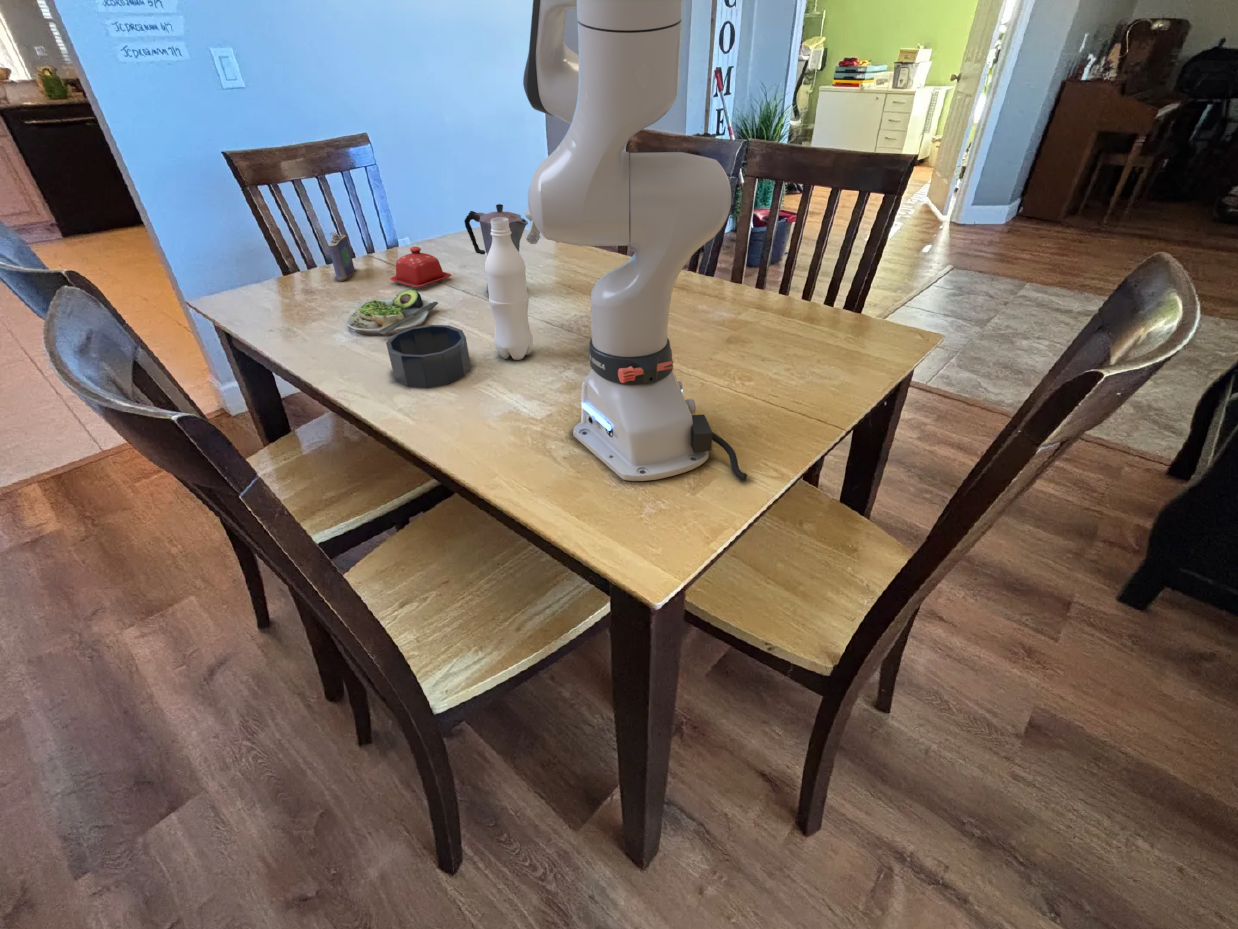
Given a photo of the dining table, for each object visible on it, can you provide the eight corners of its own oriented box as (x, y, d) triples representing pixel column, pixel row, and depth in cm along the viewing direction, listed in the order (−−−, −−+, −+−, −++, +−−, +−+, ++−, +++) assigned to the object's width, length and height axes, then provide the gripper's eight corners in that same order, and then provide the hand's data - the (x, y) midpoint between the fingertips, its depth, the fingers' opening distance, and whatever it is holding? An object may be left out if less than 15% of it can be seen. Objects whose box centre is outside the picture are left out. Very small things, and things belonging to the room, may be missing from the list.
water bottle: (518, 366, 116) (501, 227, 102) (488, 357, 119) (469, 221, 105) (541, 351, 121) (529, 217, 107) (512, 343, 124) (497, 212, 110)
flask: (345, 281, 155) (333, 237, 149) (334, 281, 155) (321, 237, 149) (357, 269, 163) (346, 227, 157) (345, 270, 163) (334, 227, 157)
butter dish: (424, 271, 161) (418, 237, 156) (454, 279, 156) (449, 245, 151) (387, 283, 154) (379, 248, 149) (418, 293, 148) (411, 257, 143)
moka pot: (528, 302, 143) (519, 210, 131) (465, 298, 145) (451, 207, 134) (541, 287, 150) (533, 199, 139) (481, 284, 153) (468, 197, 141)
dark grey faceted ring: (476, 378, 112) (471, 348, 109) (398, 393, 108) (391, 362, 105) (462, 349, 123) (457, 320, 119) (390, 361, 118) (383, 332, 115)
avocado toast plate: (424, 340, 126) (419, 318, 123) (335, 342, 126) (328, 321, 123) (442, 305, 142) (439, 285, 139) (363, 307, 141) (358, 287, 139)
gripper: (539, 168, 116) (503, 232, 115) (599, 152, 100) (558, 226, 99) (563, 191, 119) (529, 253, 118) (625, 180, 103) (586, 251, 102)
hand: (542, 241), depth 108 cm, fingers open, 8 cm apart
